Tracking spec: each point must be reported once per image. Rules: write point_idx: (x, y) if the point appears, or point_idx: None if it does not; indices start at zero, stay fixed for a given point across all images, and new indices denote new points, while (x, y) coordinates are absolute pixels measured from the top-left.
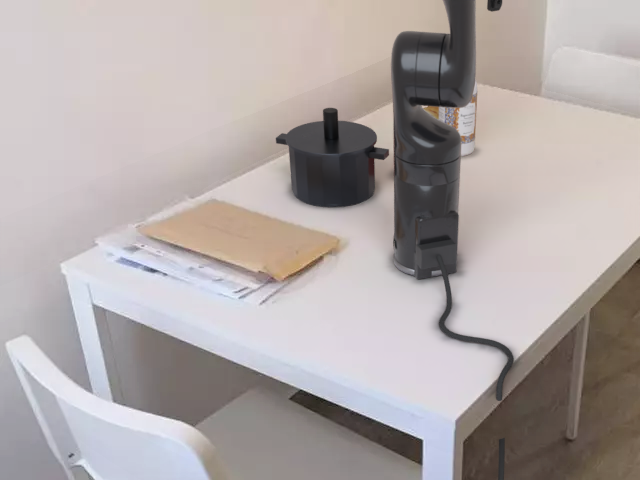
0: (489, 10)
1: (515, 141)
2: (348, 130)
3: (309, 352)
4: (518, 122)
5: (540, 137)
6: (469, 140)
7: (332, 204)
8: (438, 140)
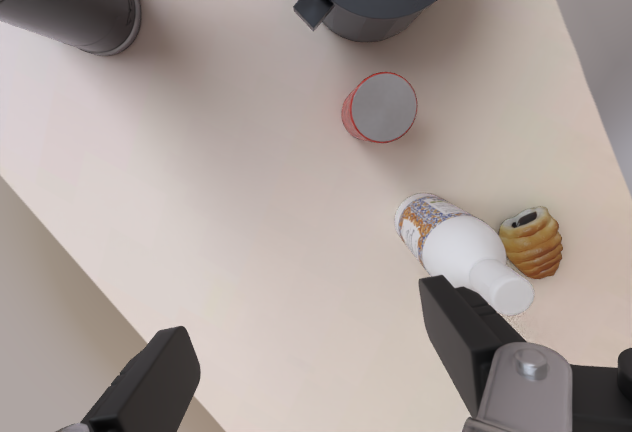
0: (169, 328)
1: (410, 307)
2: None
3: None
4: None
5: (407, 343)
6: (399, 233)
7: None
8: None
